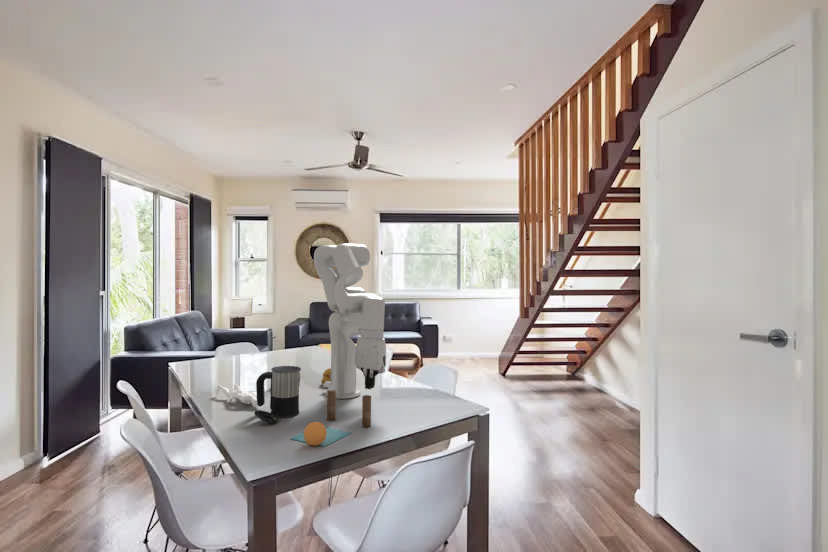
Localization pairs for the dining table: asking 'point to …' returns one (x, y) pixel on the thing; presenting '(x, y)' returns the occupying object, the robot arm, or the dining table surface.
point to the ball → (315, 433)
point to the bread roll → (326, 375)
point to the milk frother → (279, 393)
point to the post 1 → (331, 405)
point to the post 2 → (366, 411)
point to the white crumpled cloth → (239, 395)
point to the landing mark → (330, 437)
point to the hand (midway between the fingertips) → (369, 387)
